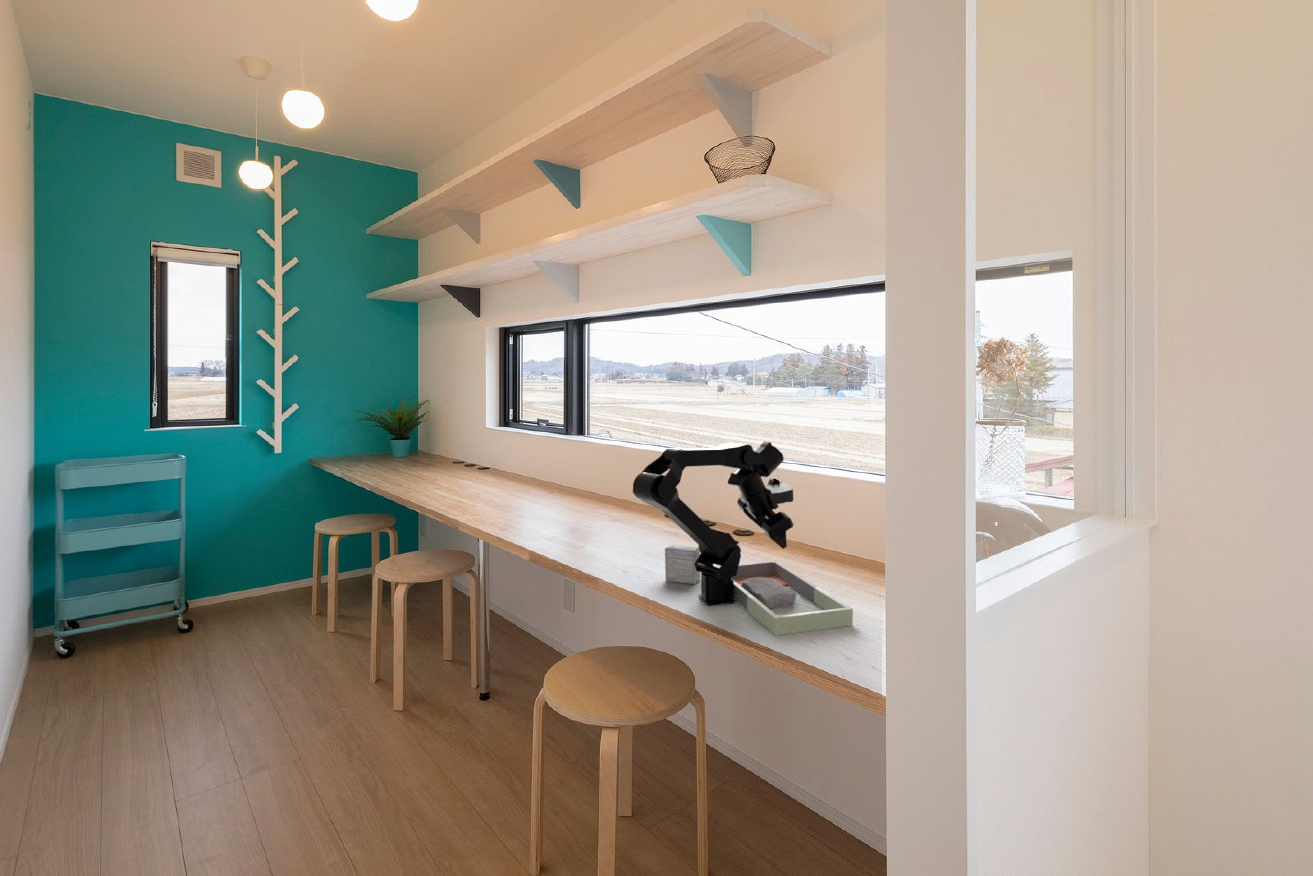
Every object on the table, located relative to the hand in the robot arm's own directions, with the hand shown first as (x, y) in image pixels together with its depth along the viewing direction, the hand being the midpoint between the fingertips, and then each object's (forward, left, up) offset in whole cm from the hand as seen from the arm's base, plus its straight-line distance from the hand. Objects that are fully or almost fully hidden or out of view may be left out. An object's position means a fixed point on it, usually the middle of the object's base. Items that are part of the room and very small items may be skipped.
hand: (775, 539), depth 161 cm
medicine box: (-21, +8, -11) cm, 25 cm away
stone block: (-7, -11, -11) cm, 17 cm away
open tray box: (-6, -13, -11) cm, 17 cm away
